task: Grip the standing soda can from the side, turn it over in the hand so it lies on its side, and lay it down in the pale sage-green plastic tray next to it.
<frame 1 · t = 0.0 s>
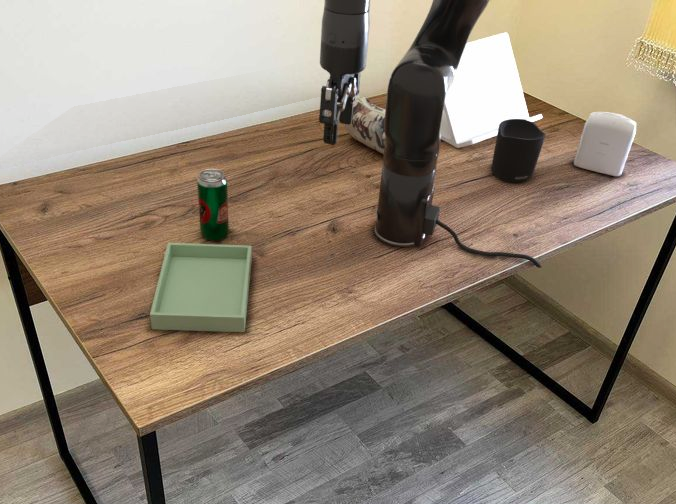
hand: (337, 133, 128), 17 cm above the table, tool pointing down, fingers open, 8 cm apart
photo printer: (596, 169, 160), on the table
tablet stand: (477, 125, 173), on the table
pen holder: (511, 174, 157), on the table
soda can: (214, 235, 134), on the table
tray: (204, 292, 121), on the table
pencil case: (385, 152, 161), on the table
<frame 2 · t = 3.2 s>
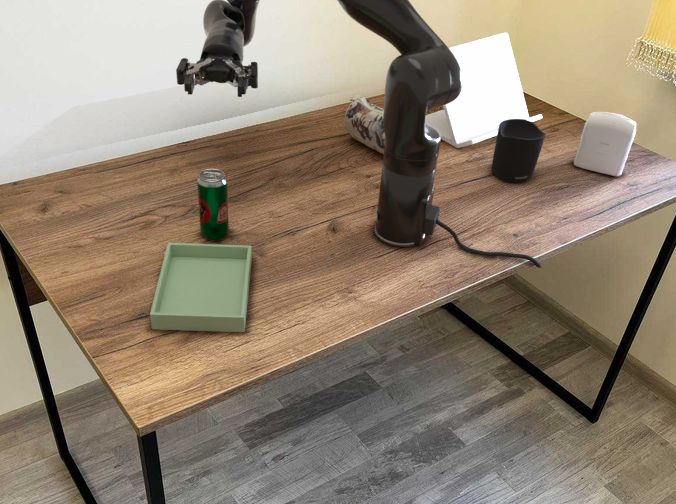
hand: (214, 90, 127), 22 cm above the table, tool horizontal, fingers open, 8 cm apart
nothing on the table moved.
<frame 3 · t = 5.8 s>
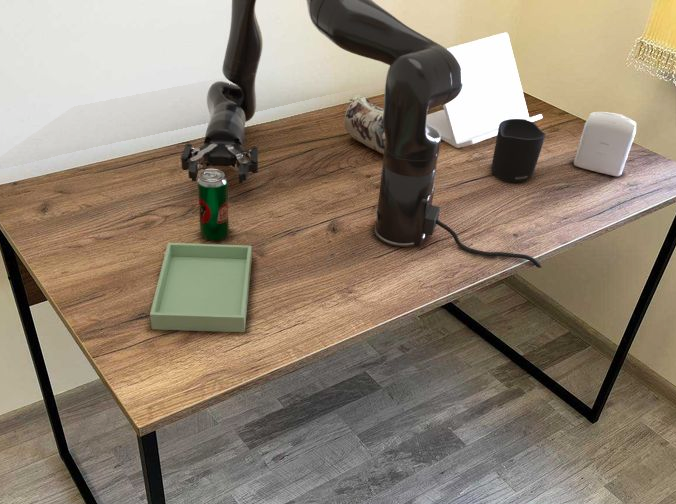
hand: (217, 177, 135), 7 cm above the table, tool horizontal, fingers open, 8 cm apart
nothing on the table moved.
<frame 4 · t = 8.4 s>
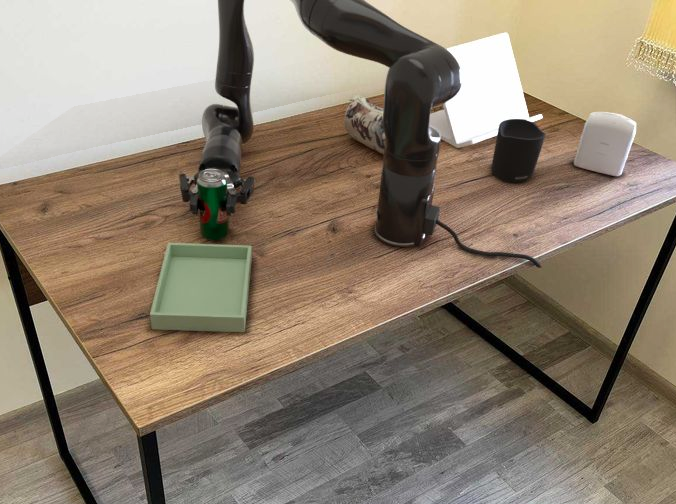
hand: (211, 210, 127), 7 cm above the table, tool horizontal, fingers closed on soda can, 5 cm apart
soda can: (214, 235, 134), on the table, touching gripper
everything else where it was.
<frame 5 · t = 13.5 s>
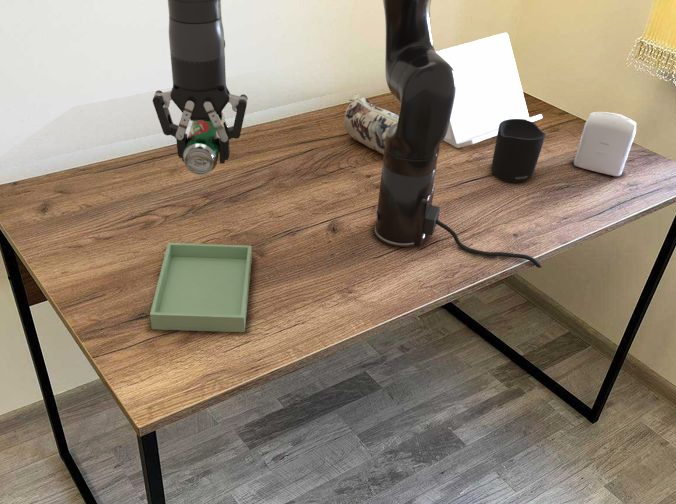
hand: (204, 159, 114), 19 cm above the table, tool pointing down, fingers closed on soda can, 5 cm apart
soda can: (208, 124, 118), point 22 cm above the table, touching gripper
everything else where it was.
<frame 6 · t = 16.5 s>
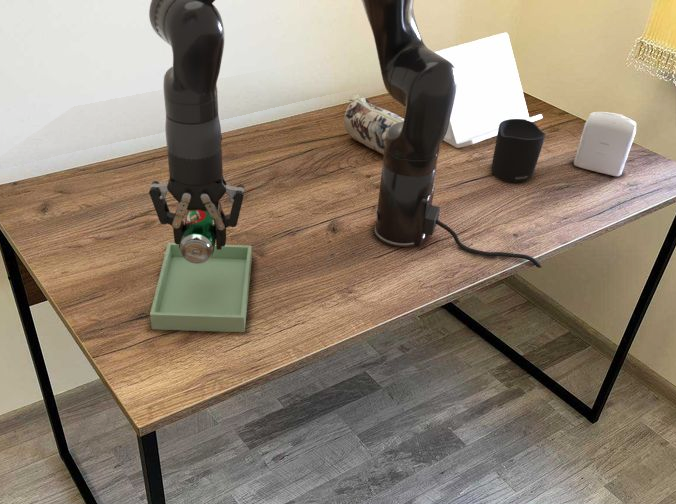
hand: (201, 245, 114), 10 cm above the table, tool pointing down, fingers closed on soda can, 5 cm apart
soda can: (205, 207, 118), point 12 cm above the table, touching gripper
everything else where it was.
when the fingers open (1 cm above the table, at t = 19.1 s): soda can stays where it is, resting on tray.
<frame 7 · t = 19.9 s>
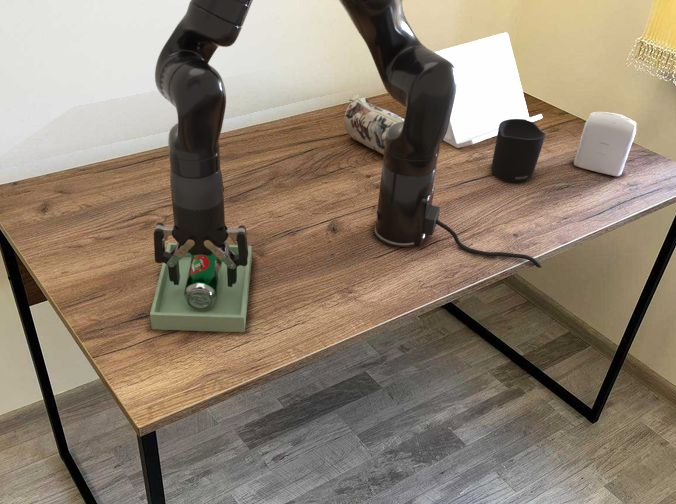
hand: (203, 283, 119), 2 cm above the table, tool pointing down, fingers open, 8 cm apart
soda can: (208, 254, 124), point 3 cm above the table, touching tray
everything else where it was.
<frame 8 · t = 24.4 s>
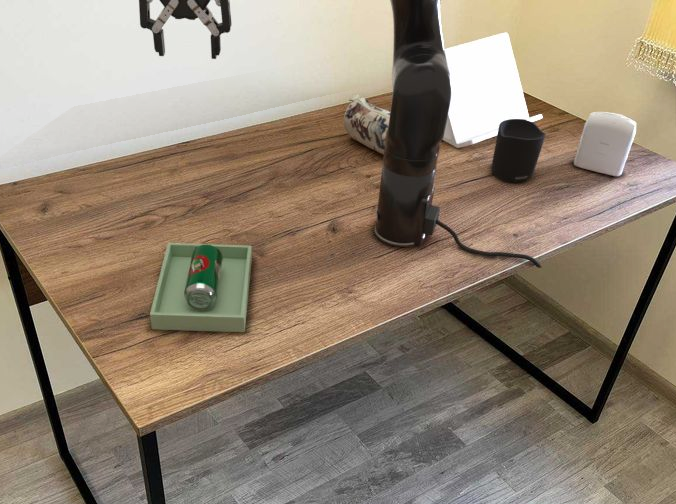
hand: (188, 55, 122), 28 cm above the table, tool pointing down, fingers open, 8 cm apart
nothing on the table moved.
at the end: soda can tilted 90°; soda can 6.3 cm from the tray (horizontally); soda can point 3.1 cm above the table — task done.
